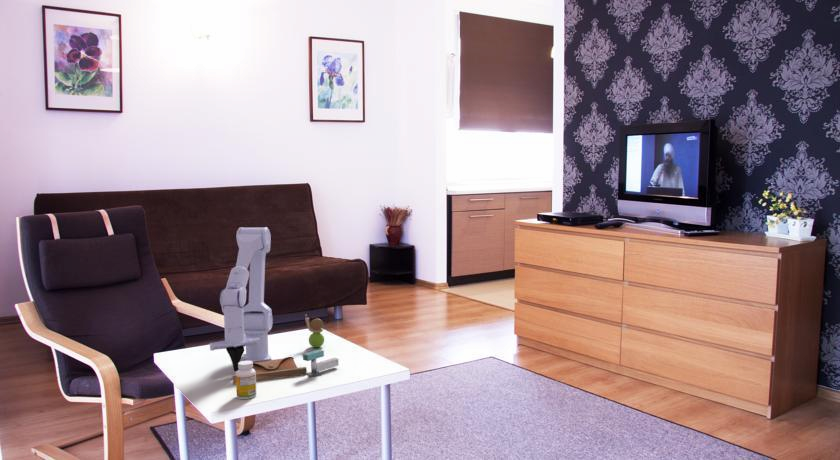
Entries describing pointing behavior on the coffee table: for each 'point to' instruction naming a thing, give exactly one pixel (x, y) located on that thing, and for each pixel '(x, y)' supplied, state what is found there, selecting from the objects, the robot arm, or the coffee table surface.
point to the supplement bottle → (246, 380)
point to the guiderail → (278, 374)
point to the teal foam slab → (321, 365)
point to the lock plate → (313, 374)
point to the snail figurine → (315, 332)
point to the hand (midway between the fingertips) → (235, 370)
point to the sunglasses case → (274, 365)
